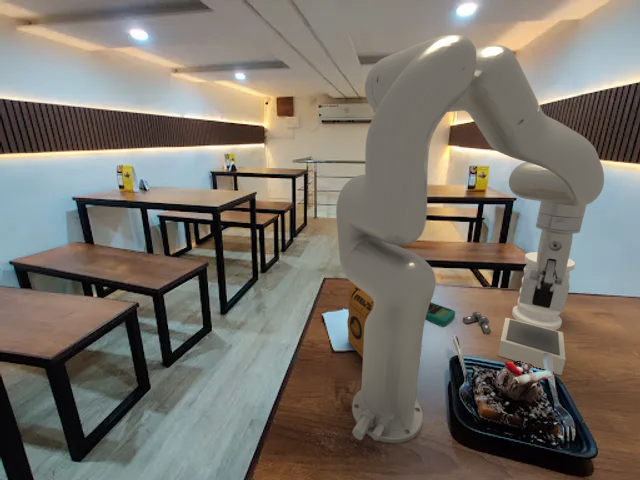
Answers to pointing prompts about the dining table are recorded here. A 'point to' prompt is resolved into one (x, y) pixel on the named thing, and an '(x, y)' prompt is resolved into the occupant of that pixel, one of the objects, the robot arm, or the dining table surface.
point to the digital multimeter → (439, 314)
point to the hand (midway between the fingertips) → (540, 299)
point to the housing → (559, 290)
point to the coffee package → (358, 316)
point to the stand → (532, 344)
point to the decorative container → (538, 314)
